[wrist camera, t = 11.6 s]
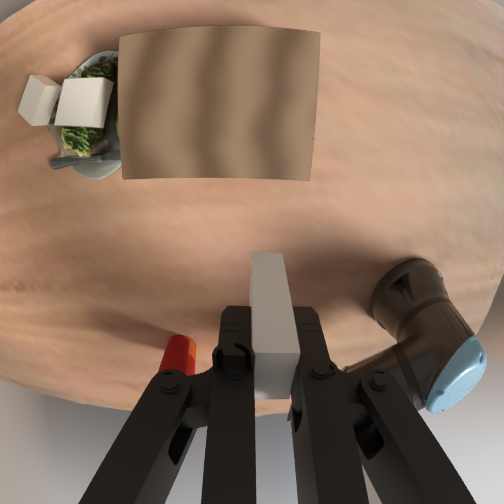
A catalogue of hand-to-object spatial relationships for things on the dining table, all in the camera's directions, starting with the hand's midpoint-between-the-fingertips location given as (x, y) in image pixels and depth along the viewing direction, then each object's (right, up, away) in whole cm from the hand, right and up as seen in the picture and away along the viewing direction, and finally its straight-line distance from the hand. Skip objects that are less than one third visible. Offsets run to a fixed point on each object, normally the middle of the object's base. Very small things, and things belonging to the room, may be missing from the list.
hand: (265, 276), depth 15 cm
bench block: (-5, +20, +18) cm, 28 cm away
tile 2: (-30, +23, +15) cm, 41 cm away
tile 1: (-21, +19, +11) cm, 30 cm away
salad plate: (-21, +20, +19) cm, 34 cm away
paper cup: (-14, -17, +39) cm, 45 cm away
